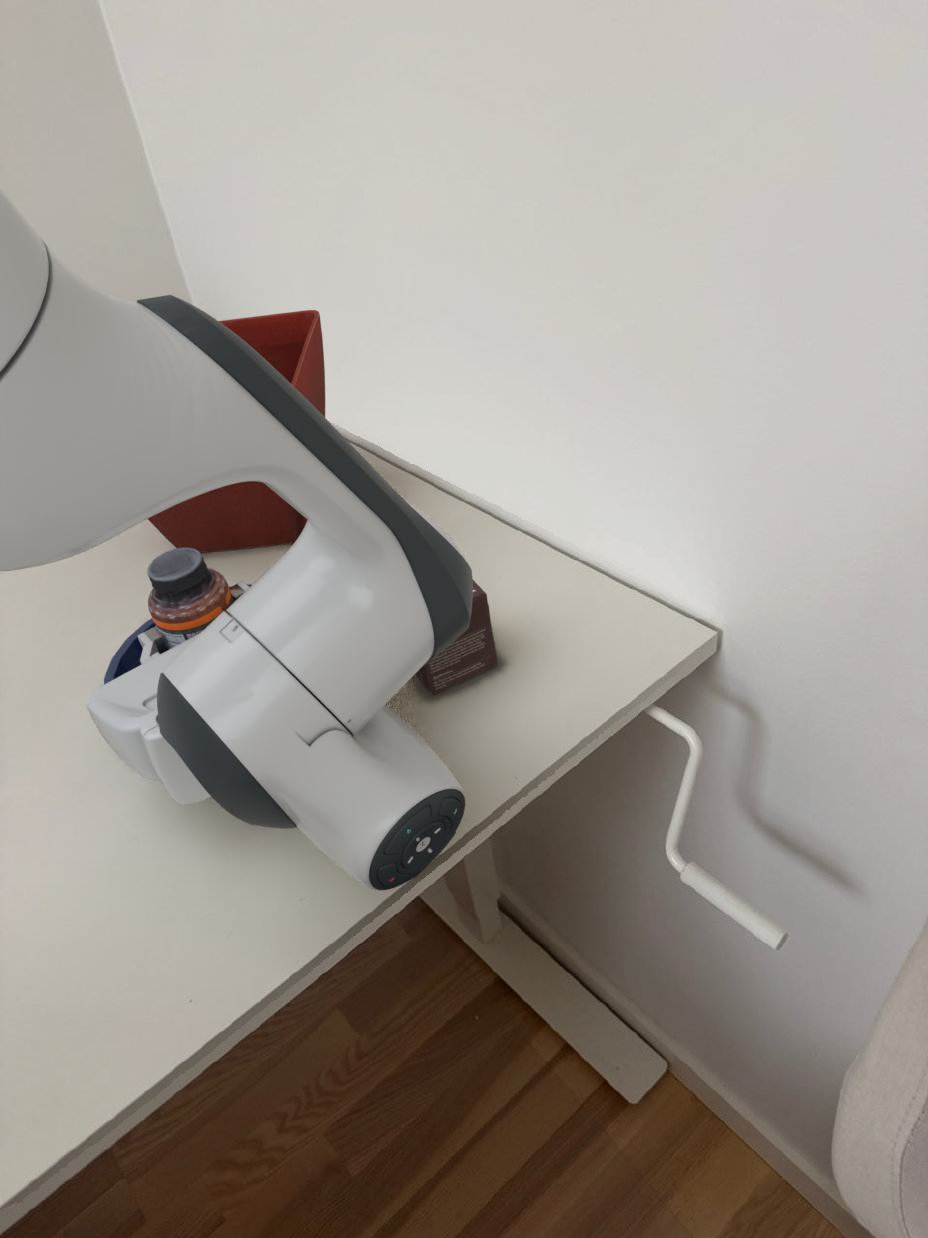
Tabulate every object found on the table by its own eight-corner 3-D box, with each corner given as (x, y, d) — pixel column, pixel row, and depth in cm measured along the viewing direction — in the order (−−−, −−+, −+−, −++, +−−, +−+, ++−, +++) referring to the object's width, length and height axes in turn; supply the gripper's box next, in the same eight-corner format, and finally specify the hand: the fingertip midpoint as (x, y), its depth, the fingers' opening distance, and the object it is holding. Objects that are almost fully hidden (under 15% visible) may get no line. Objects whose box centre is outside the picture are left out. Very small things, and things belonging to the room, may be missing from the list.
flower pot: (334, 560, 89) (289, 394, 78) (138, 580, 91) (68, 421, 80) (356, 458, 104) (320, 306, 93) (187, 477, 106) (133, 330, 95)
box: (466, 627, 79) (453, 554, 74) (500, 667, 74) (489, 593, 70) (399, 655, 77) (381, 583, 72) (429, 698, 72) (413, 624, 68)
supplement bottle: (233, 644, 78) (189, 529, 71) (274, 673, 75) (232, 555, 68) (170, 684, 75) (118, 568, 68) (210, 716, 72) (160, 598, 65)
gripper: (401, 592, 65) (299, 520, 74) (122, 752, 56) (47, 648, 66) (417, 661, 69) (318, 585, 78) (158, 821, 60) (82, 713, 70)
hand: (192, 615), depth 72 cm, fingers closed on supplement bottle, 6 cm apart
